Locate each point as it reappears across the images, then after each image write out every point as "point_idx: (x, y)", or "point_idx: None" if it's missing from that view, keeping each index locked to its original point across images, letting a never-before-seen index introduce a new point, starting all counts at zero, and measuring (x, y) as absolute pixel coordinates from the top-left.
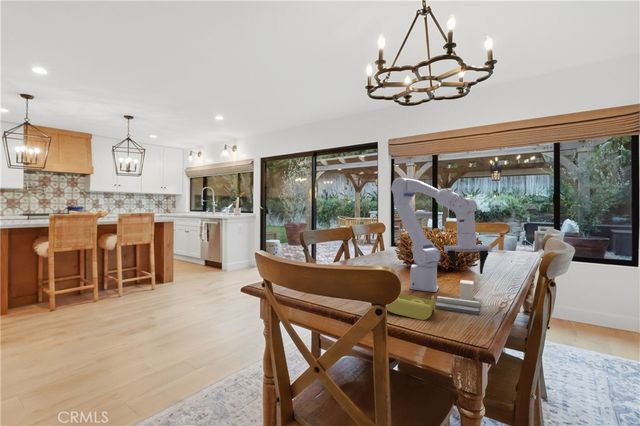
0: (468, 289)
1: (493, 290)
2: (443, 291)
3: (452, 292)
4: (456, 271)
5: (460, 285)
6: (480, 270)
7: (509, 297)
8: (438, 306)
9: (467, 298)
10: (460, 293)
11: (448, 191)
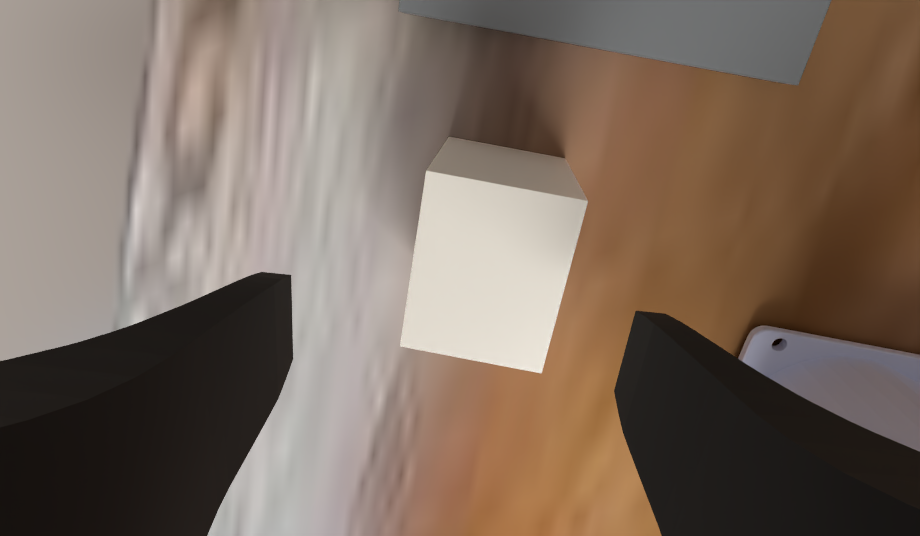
0: (483, 165)
1: (251, 502)
2: None
3: (587, 372)
4: (656, 318)
5: (575, 190)
6: (263, 285)
7: None
8: None
9: (495, 148)
10: (563, 170)
11: None
